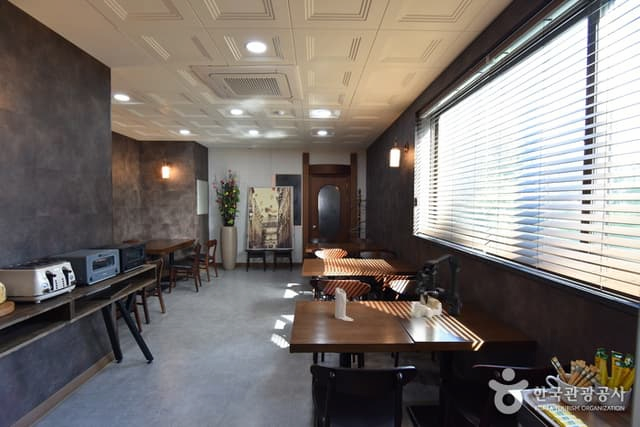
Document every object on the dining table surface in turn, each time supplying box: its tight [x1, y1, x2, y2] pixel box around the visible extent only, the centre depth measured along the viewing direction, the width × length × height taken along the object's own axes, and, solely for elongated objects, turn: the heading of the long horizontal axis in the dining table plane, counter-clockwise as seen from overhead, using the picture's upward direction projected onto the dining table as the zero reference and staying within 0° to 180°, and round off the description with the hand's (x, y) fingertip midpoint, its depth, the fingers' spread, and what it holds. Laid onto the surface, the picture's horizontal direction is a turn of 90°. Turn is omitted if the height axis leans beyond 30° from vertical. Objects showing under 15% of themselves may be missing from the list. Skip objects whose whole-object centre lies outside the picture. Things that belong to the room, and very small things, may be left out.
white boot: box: [334, 287, 354, 322], centre depth 214 cm, size 7×14×20 cm, turn 53°
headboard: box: [413, 302, 443, 319], centre depth 222 cm, size 21×6×9 cm, turn 100°
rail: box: [419, 295, 440, 310], centre depth 213 cm, size 4×16×6 cm, turn 11°
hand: (429, 303), depth 213 cm, fingers closed on rail, 4 cm apart
